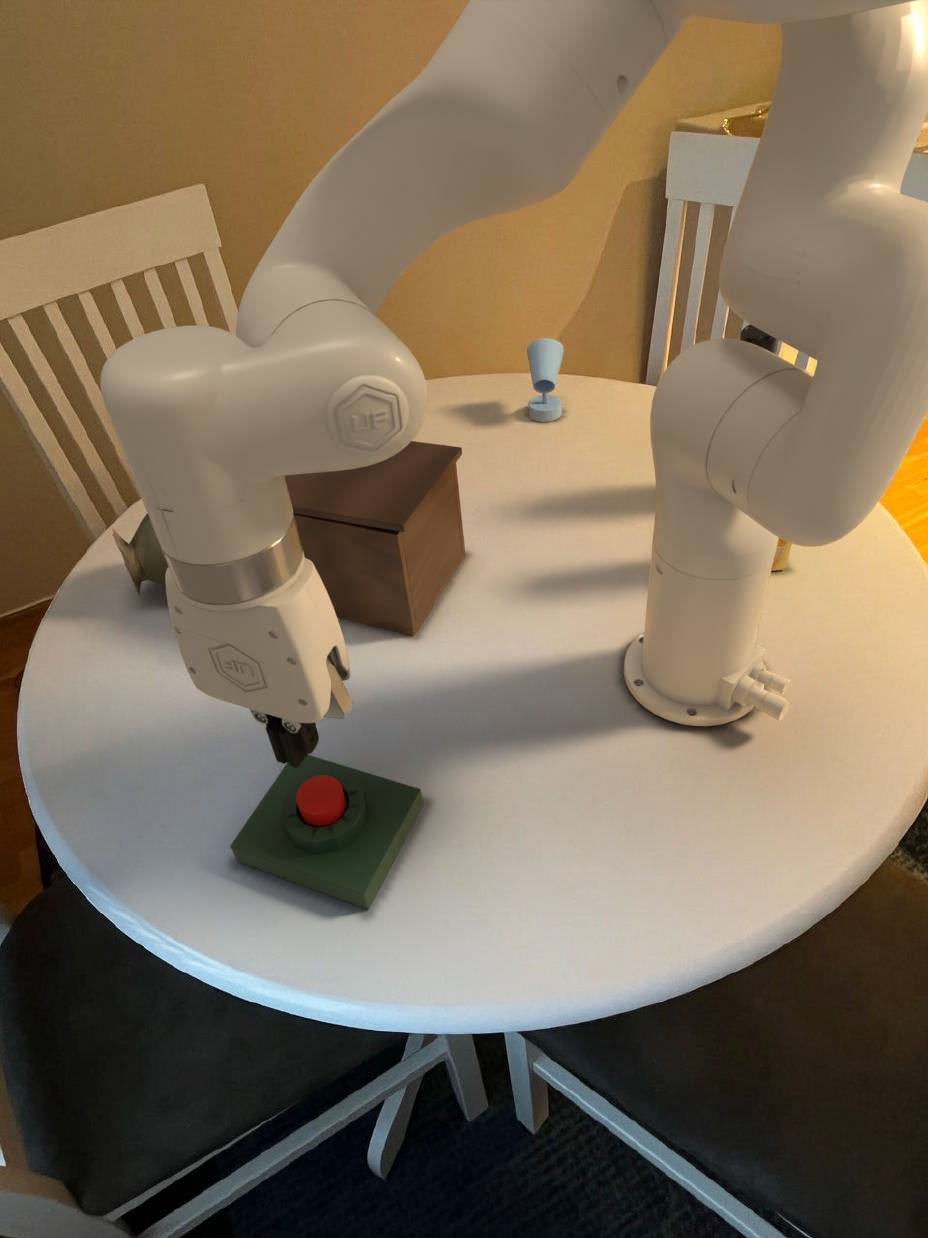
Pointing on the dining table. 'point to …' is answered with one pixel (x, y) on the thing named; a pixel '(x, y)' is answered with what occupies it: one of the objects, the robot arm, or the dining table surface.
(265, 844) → the control
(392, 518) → the lid
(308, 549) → the chest
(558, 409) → the spotlight
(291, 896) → the dining table surface
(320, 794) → the button
